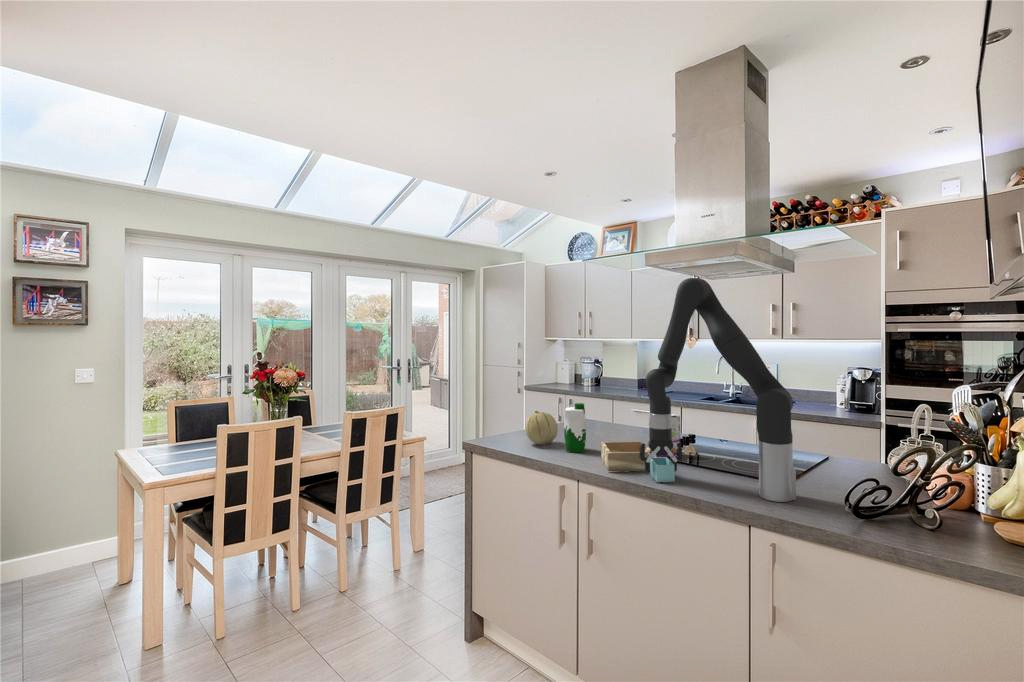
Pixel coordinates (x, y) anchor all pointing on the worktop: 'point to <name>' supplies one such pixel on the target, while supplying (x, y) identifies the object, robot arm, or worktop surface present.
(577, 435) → the milk carton
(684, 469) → the worktop surface
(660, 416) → the robot arm
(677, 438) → the candy bar box
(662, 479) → the teal crate
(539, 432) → the cantaloupe
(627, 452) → the pine crate
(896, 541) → the worktop surface
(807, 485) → the worktop surface
